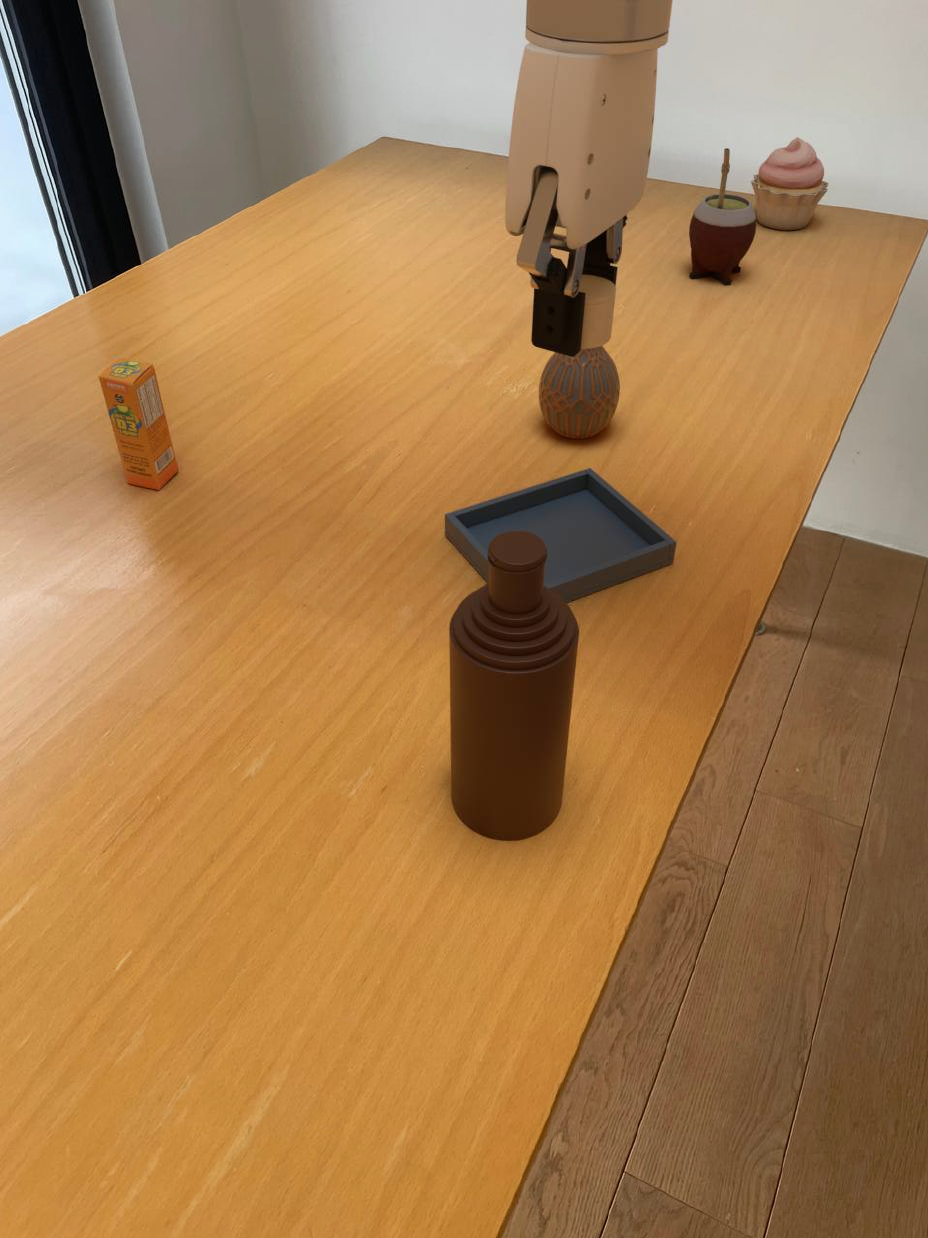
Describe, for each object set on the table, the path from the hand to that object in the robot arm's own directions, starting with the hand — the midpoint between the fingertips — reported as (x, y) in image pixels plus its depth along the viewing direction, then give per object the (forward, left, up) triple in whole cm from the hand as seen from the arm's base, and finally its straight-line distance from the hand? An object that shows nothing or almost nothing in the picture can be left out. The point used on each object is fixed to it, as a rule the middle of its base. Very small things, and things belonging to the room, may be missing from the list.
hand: (571, 333), depth 64 cm
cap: (0, 0, 0) cm, 1 cm away
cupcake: (-61, -43, -17) cm, 77 cm away
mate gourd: (-43, -34, -17) cm, 57 cm away
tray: (0, 0, -17) cm, 17 cm away
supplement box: (+24, -24, -17) cm, 38 cm away
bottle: (+15, +18, -17) cm, 29 cm away
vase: (-11, -14, -17) cm, 25 cm away
